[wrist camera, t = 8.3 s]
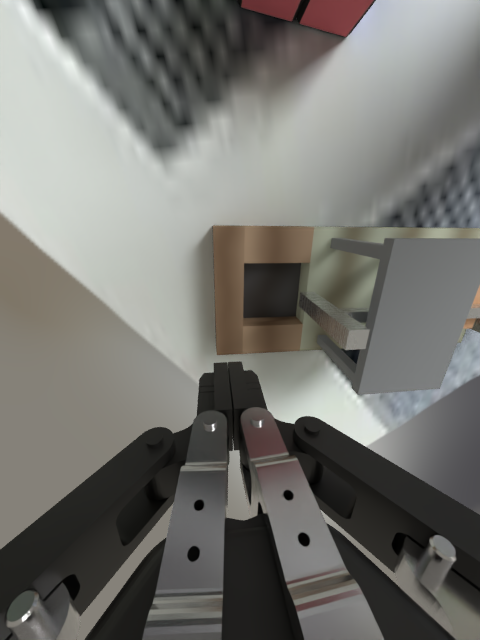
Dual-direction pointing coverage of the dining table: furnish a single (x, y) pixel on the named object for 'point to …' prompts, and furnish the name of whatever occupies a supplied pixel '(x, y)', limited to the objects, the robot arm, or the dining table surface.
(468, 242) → the tunnel
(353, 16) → the puzzle cube
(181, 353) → the dining table surface
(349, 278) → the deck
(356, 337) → the slider
